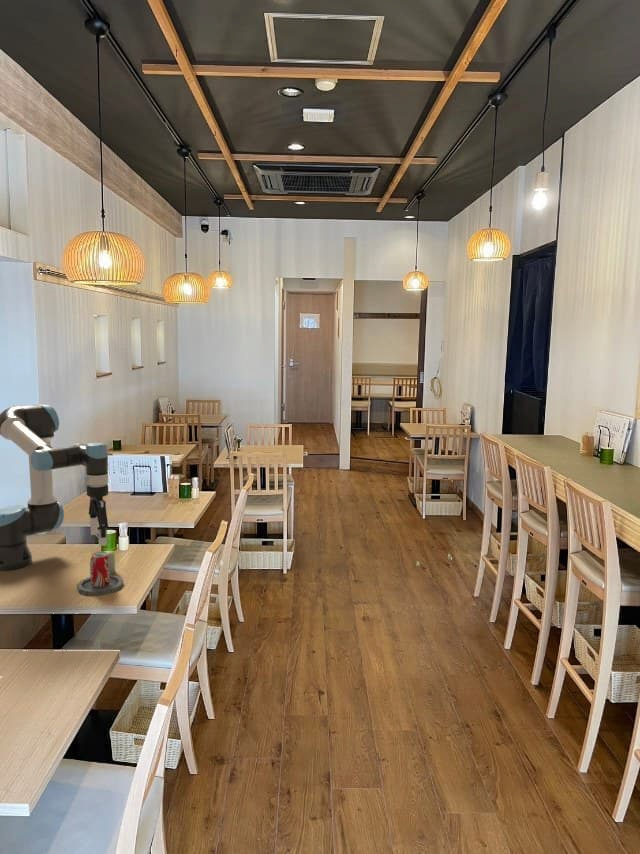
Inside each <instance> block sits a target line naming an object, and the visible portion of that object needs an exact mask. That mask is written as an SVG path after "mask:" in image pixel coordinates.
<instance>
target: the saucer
mask: <svg viewBox="0 0 640 854" xmlns="http://www.w3.org/2000/svg"><path fill="white" fill-rule="evenodd" d="M123 586H124V579H123V578H122V577H121V576H119V575H114V574H110V583H109V584H108V585H107V586H105V587H101V588H97V587H94V586H92V585H91V577H90V576H88V577H85V578H83V579H80V581H79V582H78V583H77V585H76V590H77V592H78V593H80V594H82V595H85V596H101V595H102V596H103V595H108V594H111V592H112V593H115V592H116V591H118V590H120V589H122V587H123Z"/></svg>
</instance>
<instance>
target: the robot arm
mask: <svg viewBox="0 0 640 854" xmlns="http://www.w3.org/2000/svg"><path fill="white" fill-rule="evenodd" d="M59 427H60V419H59V416H58V413H57V411H56V410H55V408H54V407H53V406H52V405H50V404H32V405H19V406H18V405H17V406H11V407H8V408H6V409H4V410H3V411H2V412H1V413H0V437H2V438H4V439H5V440H8V441H11V442H13V444H15V445H16V446H17V447H19V448H20V449H21V450H22V451H23V452H25V453H26V454H27V455H28V465H29V467H28V468H29V484H30V498H29V500H27V507H25V506H24V505H21V504H16V505H8V506H6V507H2V508H0V571H11V570H12V571H13V570H16V569H17V570H18V569H22V568H24V567H27V566H29V565H30V564H32V562H33V555H32V553H31V551H30V548H29V546H28V544H27V537H29V536H33V535H37V534H42V533H48V532H51V531H54V530H58V529H59V528H60V527H61V526H62V525H63V523H64V519H65V509H64V507H63V504H62V503H61V502H59V501H58V498H57V497H55V496H54V486H53V485H54V482H53V470H57V469H64V468H70V467H72V468H73V467H78V466H83V467H85V474H86V476H85V477H84V480H86V484H87V485H86V495H87V497H89V498H90V499H89V507H88V515H89V518H90V519H89V522H90V523H89V524H90V525H89V526H90V536H94V535H98V546H99V547H105V546H107V545H108V533H107V532H108V528H109V523H108V515H107V503H106V501H105V500H104V499H103V497H106V496H108V495H109V485H108V484H109V469H108V468H109V465H108V463H109V460H108V459H109V454H108V453H109V452H108V446H107V445H108V444H106V443H105V442H88V443H87V444H84V443H73V444H71V446H70V445H69V446H64V447H55V448H54V447H53V446H51V440H53V439H54V437H55V433H56V432H57V431H58V430H59Z"/></svg>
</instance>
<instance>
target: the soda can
mask: <svg viewBox="0 0 640 854" xmlns="http://www.w3.org/2000/svg"><path fill="white" fill-rule="evenodd" d="M89 561H90V562H89V566H90V567H89V573H90V574H89V577H91V585H92V586H94V587H97V588H101V587H105V586H107V585H108V584H109V583H110V575H111V574H110V558H109V556H108V553H106V552H104V551H97V552H94V553H92V554H91V558H90V560H89Z"/></svg>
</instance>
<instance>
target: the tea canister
mask: <svg viewBox="0 0 640 854" xmlns="http://www.w3.org/2000/svg"><path fill="white" fill-rule="evenodd" d="M103 552H106V553H108V556H109V558H110V575H113V574H114V573H115V572H116V567H115V566H116V562H115V555H116V554H115V551H113V550H106V551H103Z"/></svg>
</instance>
